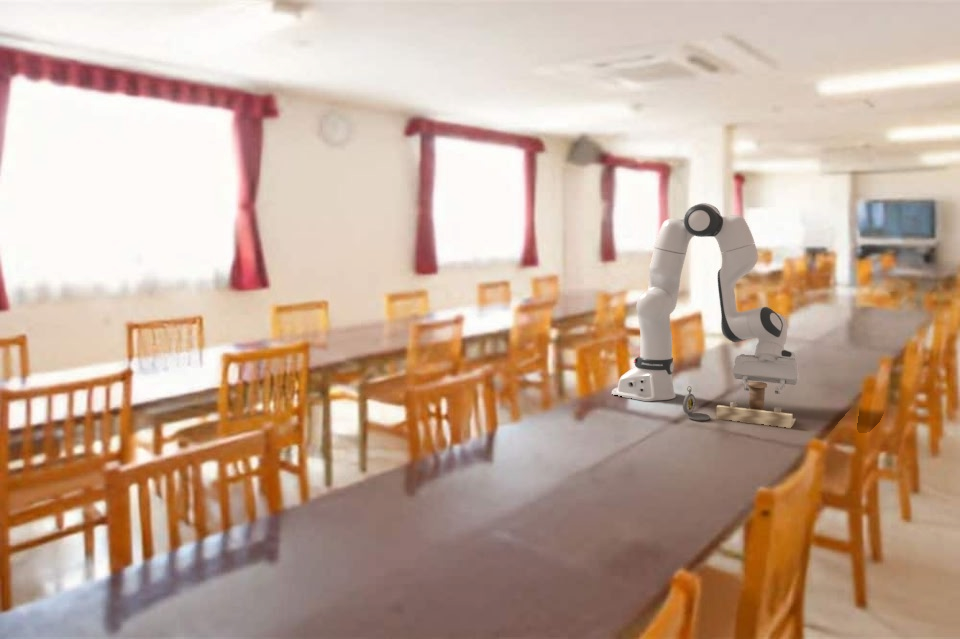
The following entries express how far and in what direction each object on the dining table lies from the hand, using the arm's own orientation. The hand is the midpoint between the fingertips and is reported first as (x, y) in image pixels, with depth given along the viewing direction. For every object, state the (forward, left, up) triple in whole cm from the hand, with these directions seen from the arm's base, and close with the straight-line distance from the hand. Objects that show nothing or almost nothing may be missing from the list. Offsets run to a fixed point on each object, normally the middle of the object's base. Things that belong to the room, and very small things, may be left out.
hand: (761, 391), depth 230 cm
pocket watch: (-17, -17, -7) cm, 25 cm away
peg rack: (0, -10, -7) cm, 12 cm away
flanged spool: (0, -9, -7) cm, 11 cm away
